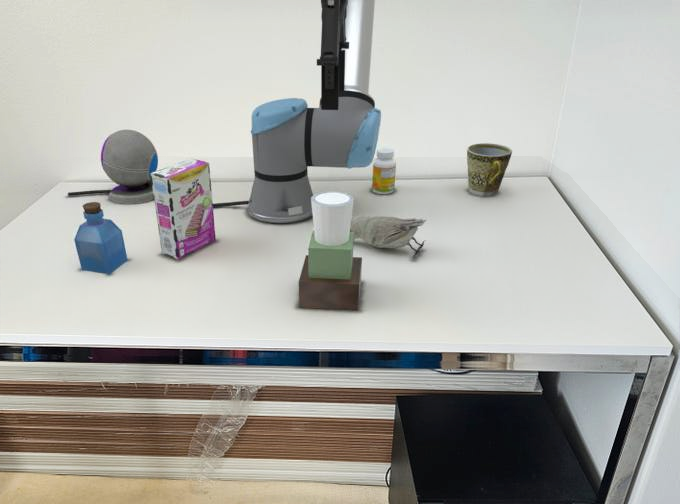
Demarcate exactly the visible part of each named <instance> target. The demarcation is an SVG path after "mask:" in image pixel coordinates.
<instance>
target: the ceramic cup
mask: <svg viewBox="0 0 680 504" xmlns="http://www.w3.org/2000/svg"><path fill="white" fill-rule="evenodd" d="M512 154H513V150H512V148H510V147H509V146H506V145H503V144H500V143H490V142H489V143H488V142H485V143H484V142H483V143H482V142H481V143H475V144H471V145H469V146H468V147H467V149H466V161H467V186H468V191H469V192H470V193H471V195H474V196H479V197H493V196H495V195H496V194H498V192H499V190H500V188H501V185H502V182H503V179H504V177H505V173H506V170H507V168H508V166H509V163H510V160H511V157H512Z"/></svg>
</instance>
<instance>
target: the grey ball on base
mask: <svg viewBox="0 0 680 504" xmlns="http://www.w3.org/2000/svg"><path fill="white" fill-rule="evenodd" d="M158 157H159V156H158V152H157V150H156V148H155V145H154V144H153V142H152V141H151V140H150V139H149V137H147V136H146V135H144V134H143V133H141V132H139V131H137V130H133V129H120V130H117V131H115V132H113V133H111V134H110V135H108V136H107V138H106V139H105V140H104V142H103V144H102V148H101V152H100V163H101V167H102V169H103V172H104V173H105V174H106V175H107V176H106V177H108V178H109V180H111V181H112V182H113V183H115V184H117V185H116V186H114V187H113V188H112V189H110V190H111V192H110V193H108V196H109V200H110V201H111V202H113V203H117V204H126V205H127V204H128V205H130V204H131V205H132V204H141V203H146V202H151V201H152V200H154V194H153V187H152V180H151V173H153V172H156V171H158V165H159V158H158Z"/></svg>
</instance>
